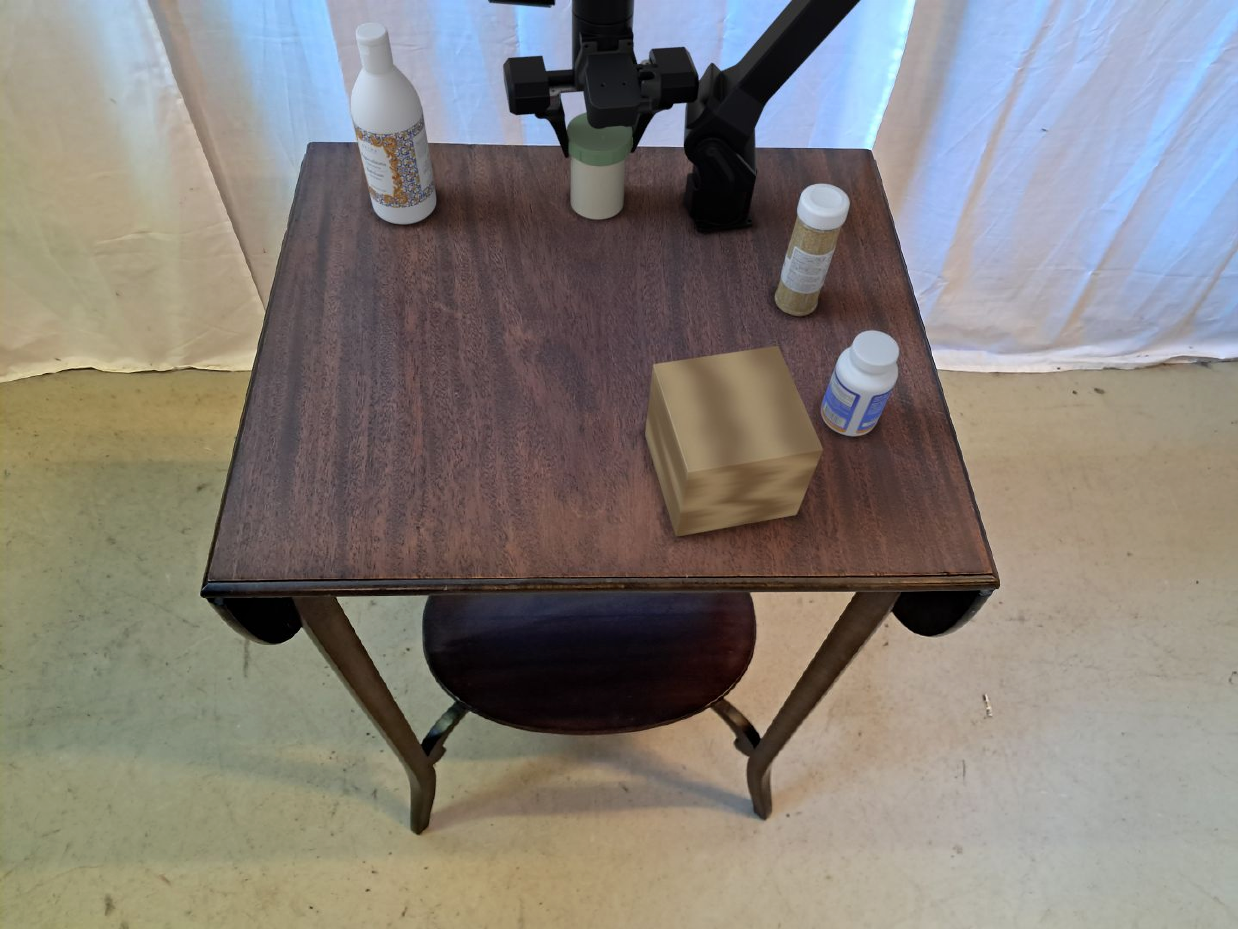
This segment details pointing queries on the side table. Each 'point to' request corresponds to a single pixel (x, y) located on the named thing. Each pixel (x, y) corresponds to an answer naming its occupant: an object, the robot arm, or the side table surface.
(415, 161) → the bath foam
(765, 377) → the oak stand
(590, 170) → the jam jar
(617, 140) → the jar lid
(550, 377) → the side table surface
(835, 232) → the sprinkles bottle
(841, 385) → the pill bottle
